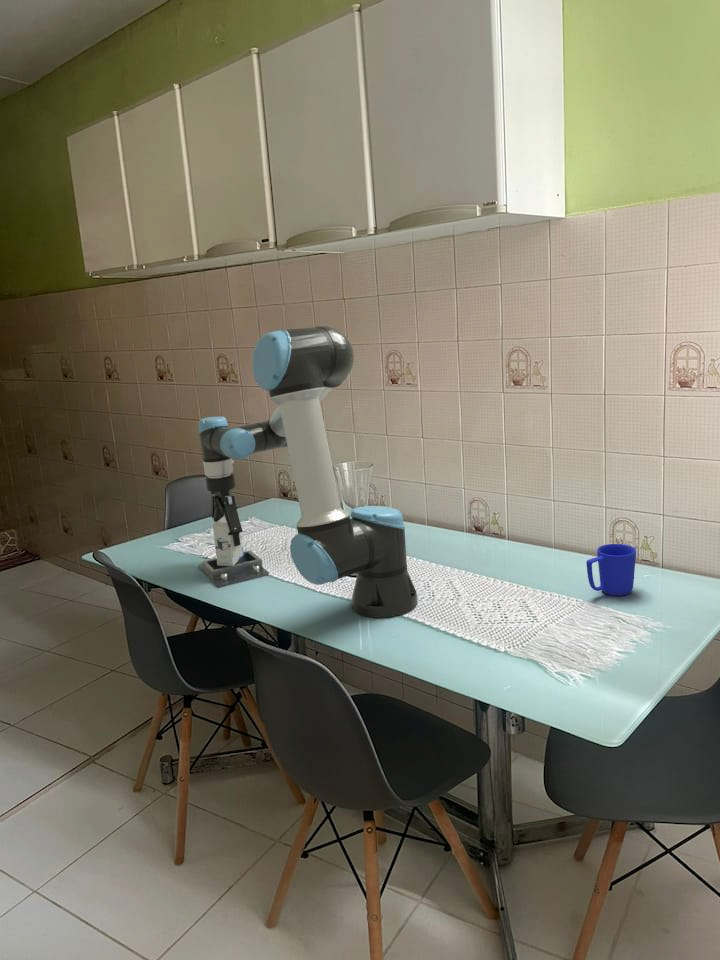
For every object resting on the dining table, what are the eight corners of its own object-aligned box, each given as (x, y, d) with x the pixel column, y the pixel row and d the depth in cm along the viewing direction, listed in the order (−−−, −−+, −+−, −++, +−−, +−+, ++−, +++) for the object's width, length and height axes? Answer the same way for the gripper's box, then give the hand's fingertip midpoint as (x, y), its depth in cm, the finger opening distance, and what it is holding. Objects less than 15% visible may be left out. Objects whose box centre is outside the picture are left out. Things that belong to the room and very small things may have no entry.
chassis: (269, 575, 195) (267, 564, 194) (218, 587, 189) (217, 577, 188) (245, 555, 212) (244, 546, 211) (198, 567, 206) (197, 557, 205)
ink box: (228, 555, 204) (223, 515, 202) (245, 555, 203) (240, 514, 201) (217, 566, 196) (210, 524, 193) (234, 566, 195) (228, 524, 192)
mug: (576, 593, 165) (575, 552, 162) (618, 581, 169) (617, 541, 167) (601, 605, 157) (600, 562, 155) (644, 593, 162) (644, 550, 160)
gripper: (247, 480, 185) (258, 558, 190) (219, 465, 207) (229, 536, 211) (219, 485, 182) (230, 565, 186) (193, 470, 203) (204, 542, 208)
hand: (230, 550), depth 199 cm, fingers open, 13 cm apart
